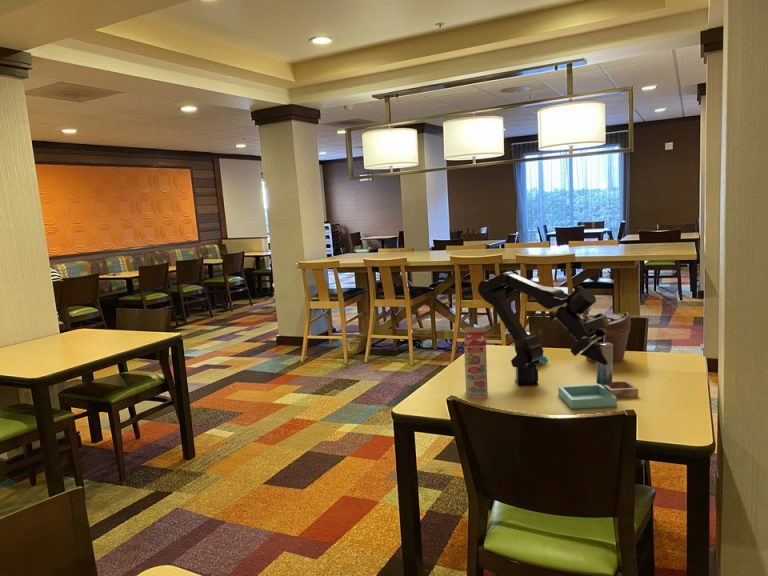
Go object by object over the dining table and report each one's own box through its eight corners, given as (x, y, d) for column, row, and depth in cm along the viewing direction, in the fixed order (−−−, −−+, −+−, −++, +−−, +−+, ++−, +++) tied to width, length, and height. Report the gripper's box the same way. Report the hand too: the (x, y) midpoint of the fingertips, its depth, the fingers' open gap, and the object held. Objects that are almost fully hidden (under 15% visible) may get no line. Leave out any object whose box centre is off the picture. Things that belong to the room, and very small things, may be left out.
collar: (610, 398, 179) (610, 390, 178) (599, 389, 187) (599, 381, 187) (638, 396, 178) (638, 388, 178) (626, 388, 187) (626, 380, 187)
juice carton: (466, 391, 193) (464, 325, 190) (487, 391, 192) (485, 325, 189) (466, 397, 186) (463, 329, 183) (487, 398, 185) (485, 329, 182)
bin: (571, 410, 170) (571, 400, 170) (558, 395, 183) (558, 386, 183) (616, 407, 170) (616, 397, 170) (600, 393, 183) (600, 384, 183)
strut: (598, 385, 177) (599, 346, 175) (594, 380, 181) (595, 342, 179) (613, 385, 176) (614, 345, 174) (609, 380, 181) (610, 342, 179)
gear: (553, 361, 216) (533, 344, 215) (543, 373, 215) (523, 356, 214) (540, 358, 227) (522, 341, 226) (531, 370, 226) (512, 353, 225)
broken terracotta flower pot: (566, 357, 226) (566, 311, 223) (606, 350, 233) (607, 306, 231) (599, 369, 210) (600, 319, 207) (642, 361, 217) (643, 313, 214)
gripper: (581, 311, 170) (620, 353, 165) (601, 301, 185) (637, 339, 180) (554, 335, 176) (591, 376, 171) (576, 323, 191) (610, 360, 186)
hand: (609, 362), depth 177 cm, fingers closed on strut, 4 cm apart
